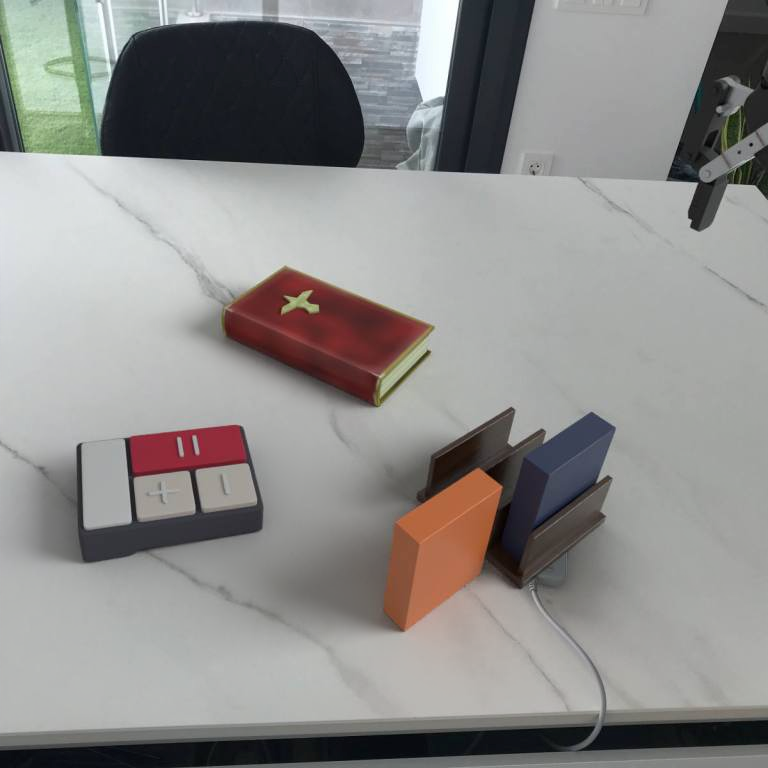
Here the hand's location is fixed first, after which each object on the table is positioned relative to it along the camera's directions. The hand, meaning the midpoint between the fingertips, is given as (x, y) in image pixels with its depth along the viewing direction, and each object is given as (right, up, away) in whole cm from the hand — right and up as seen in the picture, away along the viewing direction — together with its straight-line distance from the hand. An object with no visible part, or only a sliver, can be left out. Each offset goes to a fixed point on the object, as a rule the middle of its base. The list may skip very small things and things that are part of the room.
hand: (752, 252), depth 56 cm
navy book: (-12, -23, +14) cm, 29 cm away
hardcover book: (-33, -5, +34) cm, 48 cm away
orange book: (-22, -27, +9) cm, 36 cm away
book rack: (-15, -21, +17) cm, 31 cm away
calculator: (-46, -20, +15) cm, 52 cm away
